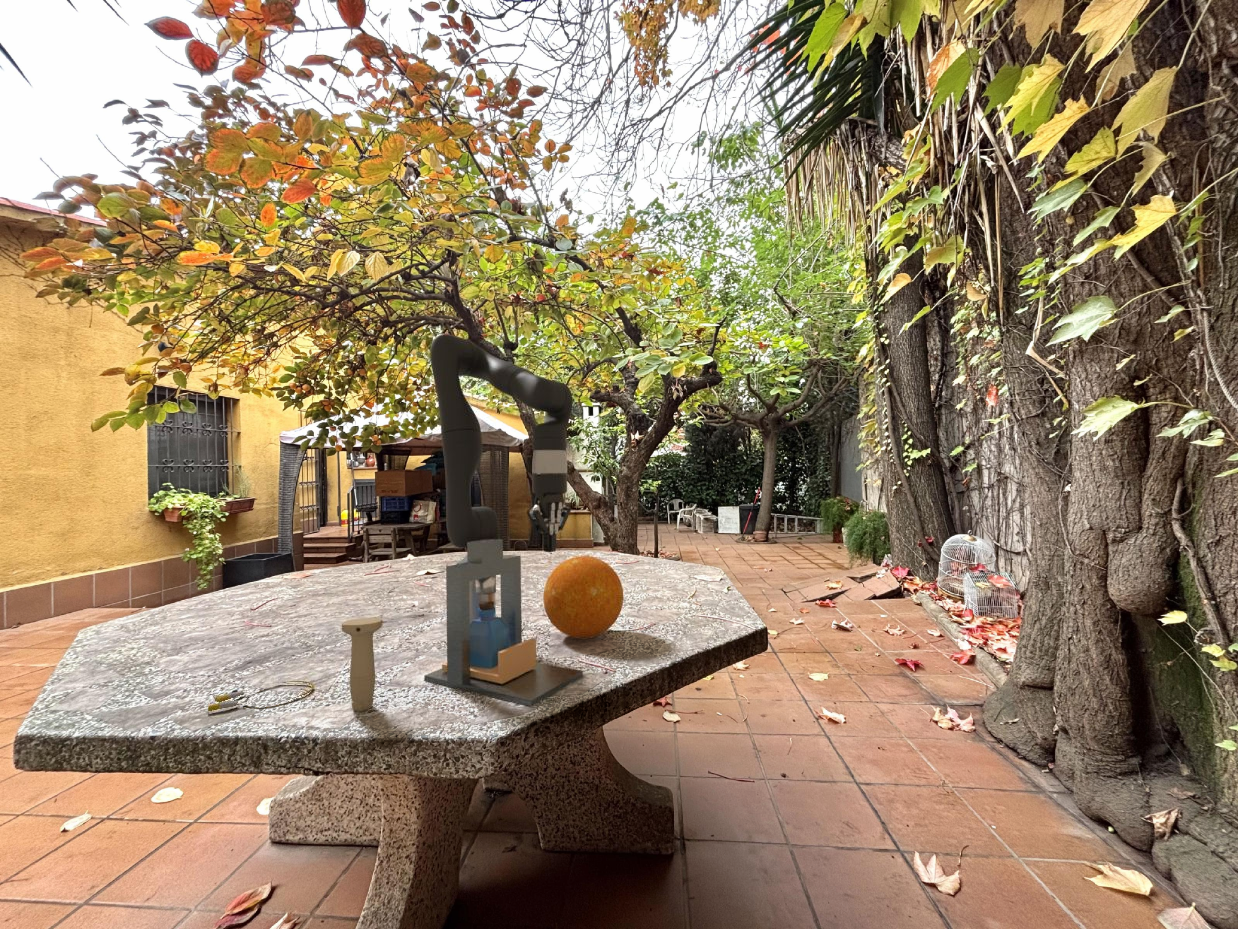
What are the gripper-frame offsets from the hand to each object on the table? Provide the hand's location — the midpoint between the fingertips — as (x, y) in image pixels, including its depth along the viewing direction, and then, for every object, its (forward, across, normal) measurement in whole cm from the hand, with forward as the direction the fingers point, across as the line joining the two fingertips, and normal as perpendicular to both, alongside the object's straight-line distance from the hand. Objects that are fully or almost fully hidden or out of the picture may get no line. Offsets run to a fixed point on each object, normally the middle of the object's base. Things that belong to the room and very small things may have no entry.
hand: (549, 551), depth 115 cm
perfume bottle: (+22, +12, -6) cm, 26 cm away
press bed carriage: (+23, +12, -6) cm, 26 cm away
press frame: (+24, +12, -2) cm, 27 cm away
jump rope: (+25, +40, -35) cm, 59 cm away
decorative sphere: (+24, -19, -4) cm, 31 cm away
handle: (+24, +34, -14) cm, 44 cm away
